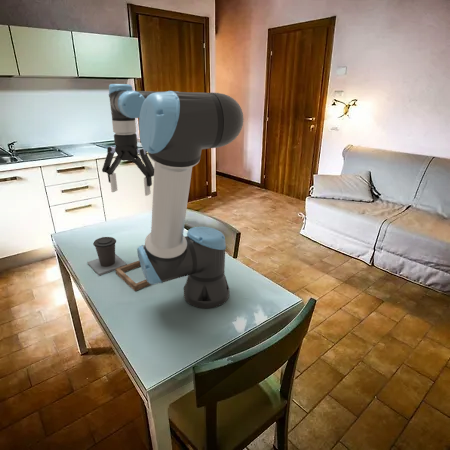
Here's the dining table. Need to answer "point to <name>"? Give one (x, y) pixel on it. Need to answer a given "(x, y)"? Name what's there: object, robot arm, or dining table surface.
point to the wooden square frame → (127, 279)
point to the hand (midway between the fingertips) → (131, 193)
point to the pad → (103, 270)
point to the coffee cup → (105, 250)
